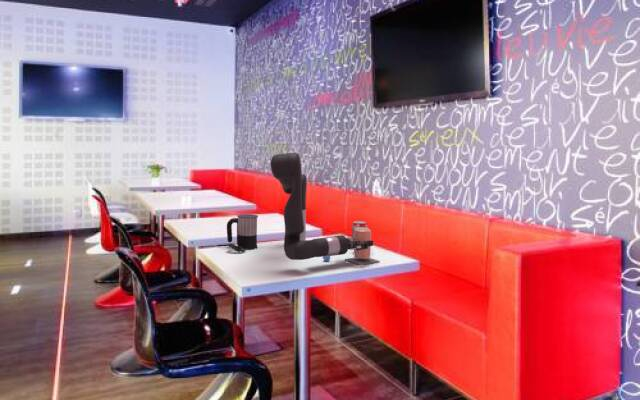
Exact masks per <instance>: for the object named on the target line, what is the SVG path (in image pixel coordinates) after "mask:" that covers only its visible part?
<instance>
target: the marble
mask: <svg viewBox="0 0 640 400" xmlns="http://www.w3.org/2000/svg"><path fill="white" fill-rule="evenodd" d="M322 259H323V261H324V262H328V261H330V259H331V256H322Z"/></svg>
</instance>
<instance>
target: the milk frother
mask: <svg viewBox="0 0 640 400" xmlns="http://www.w3.org/2000/svg"><path fill="white" fill-rule="evenodd" d="M258 217H259V216H258V215H256V214H248V213H247V214H243V213H242V214H237V216H236V217H233V218H230V219H229V220H228V221H227V223H226V237H227V242H228V243H229V244H228V246H227V247H228V248H230V249H233V250H235V252H238V253H240V252H243V253H245V252H246V250H249V251H250V250H256V249H257V248H258V237H257V236H258V233H257V232H258ZM233 224H236V244H232V243H231V242H233V227H232V225H233ZM255 248H256V249H255Z"/></svg>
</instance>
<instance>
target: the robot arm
mask: <svg viewBox="0 0 640 400" xmlns="http://www.w3.org/2000/svg"><path fill="white" fill-rule="evenodd" d="M270 170H271V173H272V176H273V177H274V179H276V180H278V181H279V183H280V185H282V190H283V192H284V193H285V194H287V195H289V196H288V199H287V201H286V203H285V205H284V209H283V221H284V240H283V241H284V242H283V249H284V250H283V252H284V254H285V256H286V257H287V258H288V259H290V260H292V261H293V260H296V261H303V260H309V259H314V258H320V257H322V258H323V256H330V257H335V256H339V255H340V256H341V255H345V254H347V252H348V251H349V250H350V251H352V250H353V251H354V249H356V250H363V249H368V247H369V246H371V247H373V246H374V240H372V239H371V240H370V241H360V240H355V239H354V238H352V237H350V236H348V237H346V236H345V235H344V234H343V235H342V234H341V235H330V236H329V235H328V236H326V237H325V236H324V237H319V238H313V239H308V240H307V239H306V238H307V237H306V233H307V229H306V228H307V227H306V226H307V219H306V218H307V216H306V215H307V204H306V203H307V201H306V200H307V199H306V198H307V186H308V184H307V183H308V181H307V176H306V175H305V174H303V172H302V171H303V170H302V160H301V158H300V155H299V153H298V152H287V153H286V152H285V153H279V154H278V153H277V154H274V155H273V156H272V158H271V159H270ZM357 242H358V243H357Z"/></svg>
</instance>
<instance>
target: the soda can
mask: <svg viewBox="0 0 640 400" xmlns="http://www.w3.org/2000/svg"><path fill="white" fill-rule="evenodd" d="M352 223H353V224H352V225H351V238H354V229H355V228H356V227H366V228H368V225H367V222H366V221H362V220H360V221H358V220H355V221H353V222H352Z"/></svg>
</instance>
